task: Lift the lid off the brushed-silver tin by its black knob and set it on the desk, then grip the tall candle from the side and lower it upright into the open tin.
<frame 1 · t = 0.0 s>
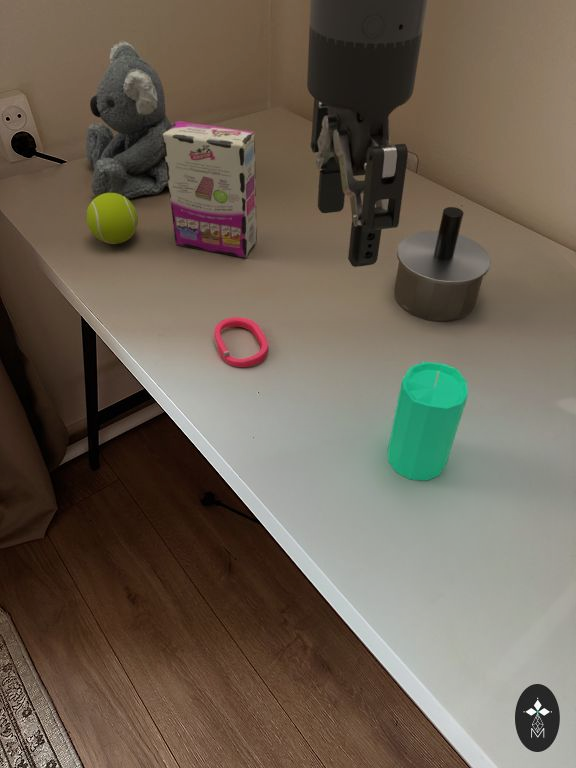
hand: (345, 235, 53), 22 cm above the table, tool pointing down, fingers open, 8 cm apart
tin: (434, 296, 85), on the table
tin lid: (442, 258, 80), point 6 cm above the table, touching tin
fitness band: (241, 346, 77), on the table
candy bar box: (216, 244, 93), on the table
candle: (416, 458, 65), on the table
tennis ball: (116, 241, 93), on the table
koala plush: (145, 177, 107), on the table
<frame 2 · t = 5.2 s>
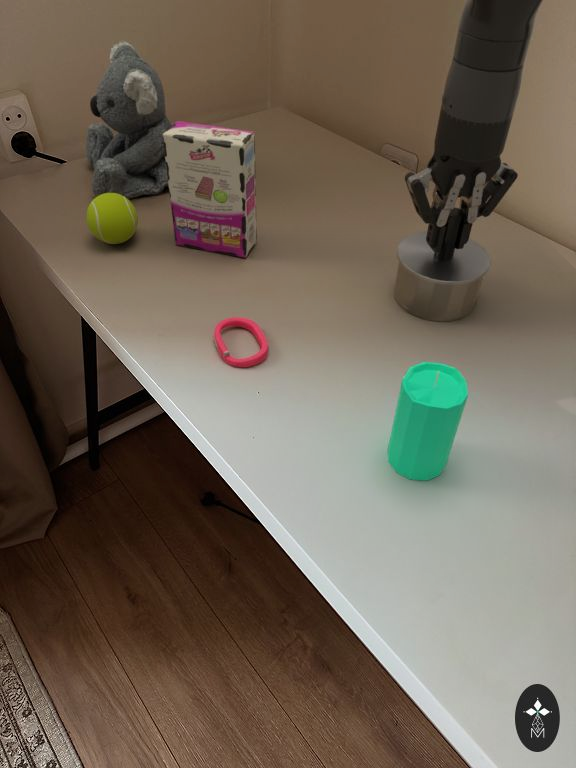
hand: (445, 246, 79), 8 cm above the table, tool pointing down, fingers closed on tin lid, 2 cm apart
tin lid: (442, 258, 80), point 6 cm above the table, touching gripper, tin
everything else where it was.
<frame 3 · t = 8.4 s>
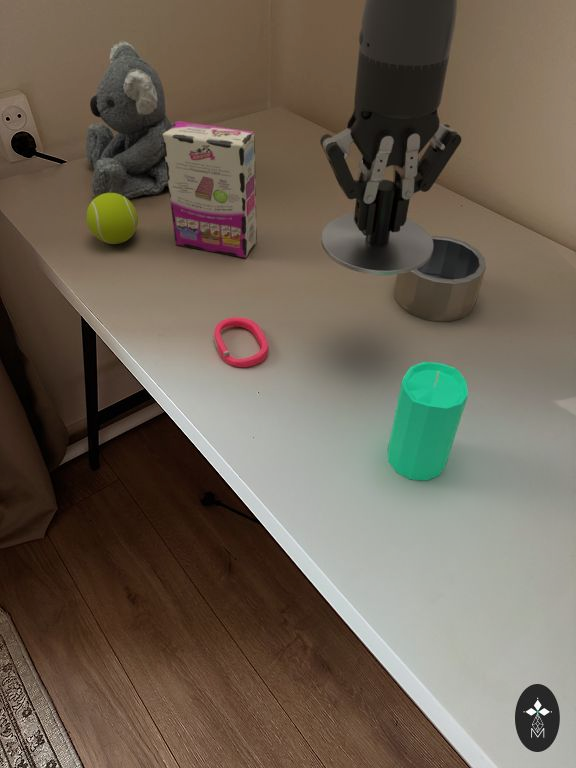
hand: (378, 229, 65), 16 cm above the table, tool pointing down, fingers closed on tin lid, 2 cm apart
tin lid: (376, 243, 66), point 15 cm above the table, touching gripper
everything else where it was.
when the fingers open (2 cm above the table, at t = 11.6 s): tin lid stays where it is, point 1 cm above the table.
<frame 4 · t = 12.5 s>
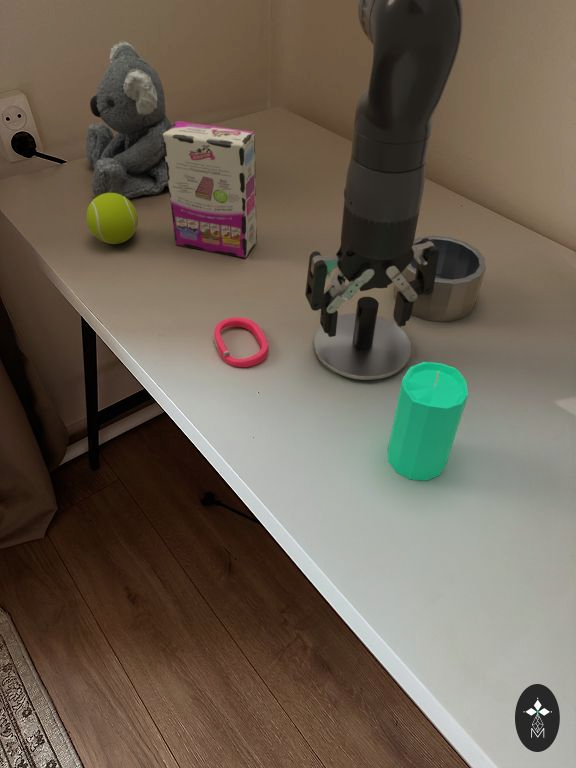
hand: (364, 327, 74), 3 cm above the table, tool pointing down, fingers open, 8 cm apart
tin lid: (362, 346, 76), point 1 cm above the table
everything else where it was.
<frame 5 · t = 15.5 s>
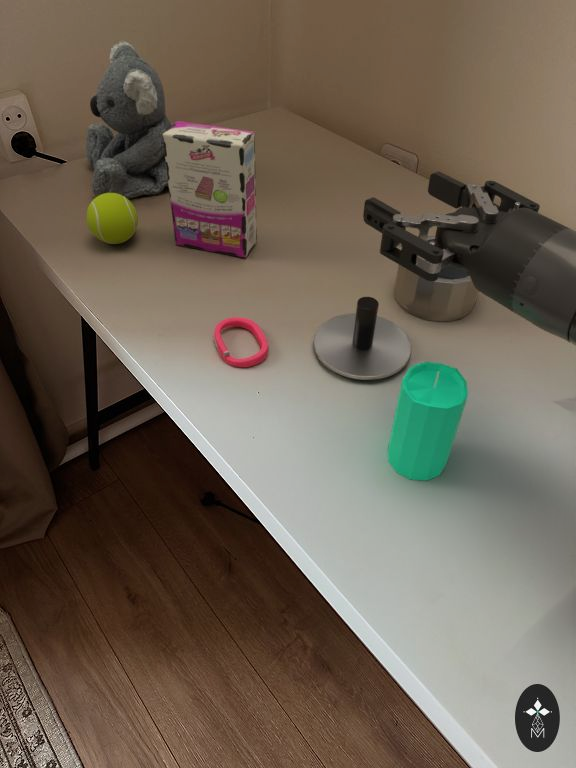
hand: (400, 194, 59), 22 cm above the table, tool horizontal, fingers open, 8 cm apart
nothing on the table moved.
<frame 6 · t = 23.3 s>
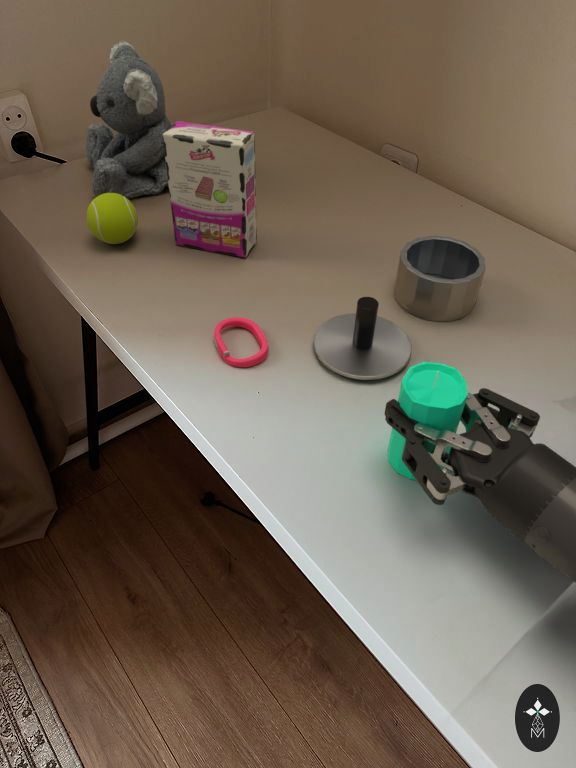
hand: (408, 394, 61), 7 cm above the table, tool horizontal, fingers closed on candle, 5 cm apart
candle: (416, 458, 65), on the table, touching gripper
everything else where it was.
when the fingers open (8 cm above the table, at t = 32.9 s): candle stays where it is, resting on tin.
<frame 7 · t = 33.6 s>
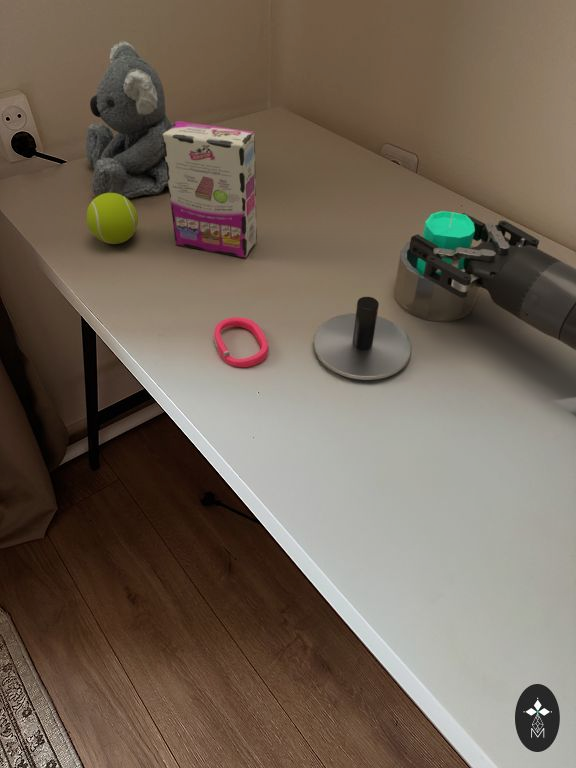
hand: (435, 230, 79), 9 cm above the table, tool horizontal, fingers open, 8 cm apart
candle: (434, 295, 84), resting on tin
everything else where it was.
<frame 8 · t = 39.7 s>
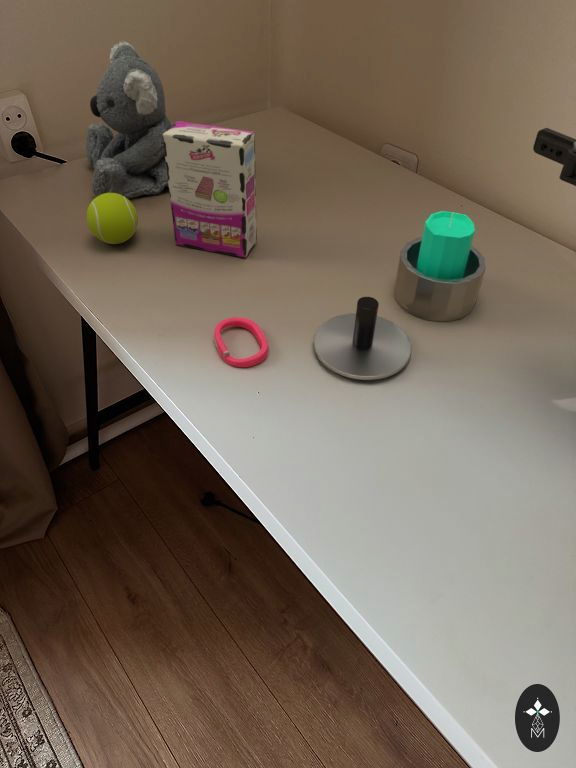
hand: (564, 127, 61), 26 cm above the table, tool horizontal, fingers open, 8 cm apart
nothing on the table moved.
at the end: tin lid point 0.6 cm above the table; candle 0.2 cm off-centre in the tin, point 0.3 cm above the tin's base; candle tilted 0° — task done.
